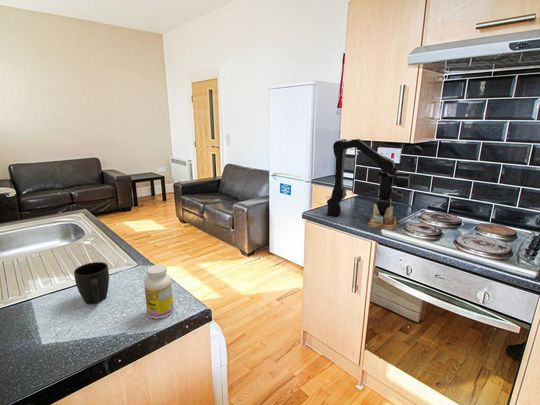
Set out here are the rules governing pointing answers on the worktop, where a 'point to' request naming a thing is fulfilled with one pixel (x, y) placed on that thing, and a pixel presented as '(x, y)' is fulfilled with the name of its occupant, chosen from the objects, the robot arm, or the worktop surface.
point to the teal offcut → (378, 218)
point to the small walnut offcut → (388, 221)
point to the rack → (383, 226)
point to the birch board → (387, 214)
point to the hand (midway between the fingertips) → (382, 215)
